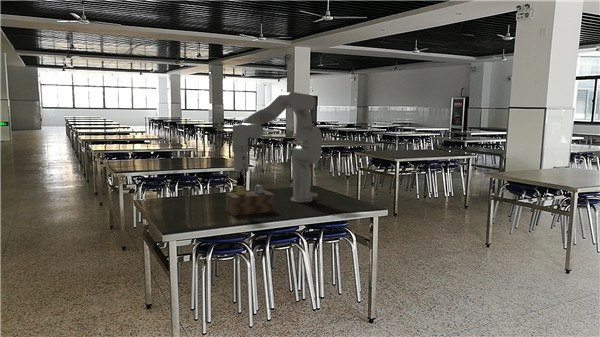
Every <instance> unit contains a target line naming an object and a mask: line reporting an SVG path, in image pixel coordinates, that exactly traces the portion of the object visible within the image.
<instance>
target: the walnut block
mask: <svg viewBox="0 0 600 337" xmlns="http://www.w3.org/2000/svg"><path fill="white" fill-rule="evenodd" d="M225 211H226V212H227V213H229V214H230V215H232V216H242V215H254V214H262V213H265V214H266V213H274V212H275V193H272V192H270V191H268V190H264V189H263V194H255V190H253V191H248V192H245V195H241V196H237V192H236V193H230V192H226V193H225Z"/></svg>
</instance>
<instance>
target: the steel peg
mask: <svg viewBox="0 0 600 337" xmlns="http://www.w3.org/2000/svg"><path fill="white" fill-rule="evenodd" d="M263 190H264V185H262V184H256V185H254V191H255V194H263Z"/></svg>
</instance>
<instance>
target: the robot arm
mask: <svg viewBox="0 0 600 337" xmlns="http://www.w3.org/2000/svg"><path fill="white" fill-rule="evenodd" d="M315 106H316V99H315V97H314V96H312V95H311V94H307V93H300V92H293V91H282V92H279V93H277V94H276V95H274V97H273V98H272V99H271V100H270V101H269V102H268V103H267V104H266V105H265V106H264V107H262V108H260V109H259V110H258V111H255V112H253V113H252V114H251V115H249V116H248V117H247V118H245V119H244V121H242V123H238V124H237V123H236V124H233V125H232V152H233V170H234V171H235V172H236V185H237V186H244V185H245V175H246V172H247V173H248V172H249V155H248V152H249V150H248V149H249V139H259V138H262V137H263V134H264V128H263V126H262V125H263V124H267V123H270V122H273V121H275V120H277V118H279V116H280V115H281V114H282V113H284V111H285V110H287V109H291V110H292V111H293V112H294V115H295V116H296V121H295V123H296V124H295V139H296V141H297V142H298V143H302V144H307V145H300V144H299V145H296V146H294V148H292V151H291V158H292V164H293V165H292V166H293V175H292V176H293V179H292V181H293V182H292V183H293V187H292V188H293V189H292V190H293V191H292V192H293V193H292V195H293V196H292V197H290V202H294V203H309V202H311V203H312V202H313V197H314V198H315V197H318V195H319V194H318V192H315V193H314V192H311V167H310V164H312V165H313V164H317V163H318V162H319V161H320V160H321V157H322V146H323V145H322V141H323V134H322V131H321V129H320V128H318V127H316V126H312V114H311V112H310V111H312V110H313V109H314V108H315Z"/></svg>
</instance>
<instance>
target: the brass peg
mask: <svg viewBox="0 0 600 337" xmlns="http://www.w3.org/2000/svg"><path fill="white" fill-rule="evenodd" d="M236 190H237V196H241V195H245V186H244V185H240V186H238V185H237V186H236Z"/></svg>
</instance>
